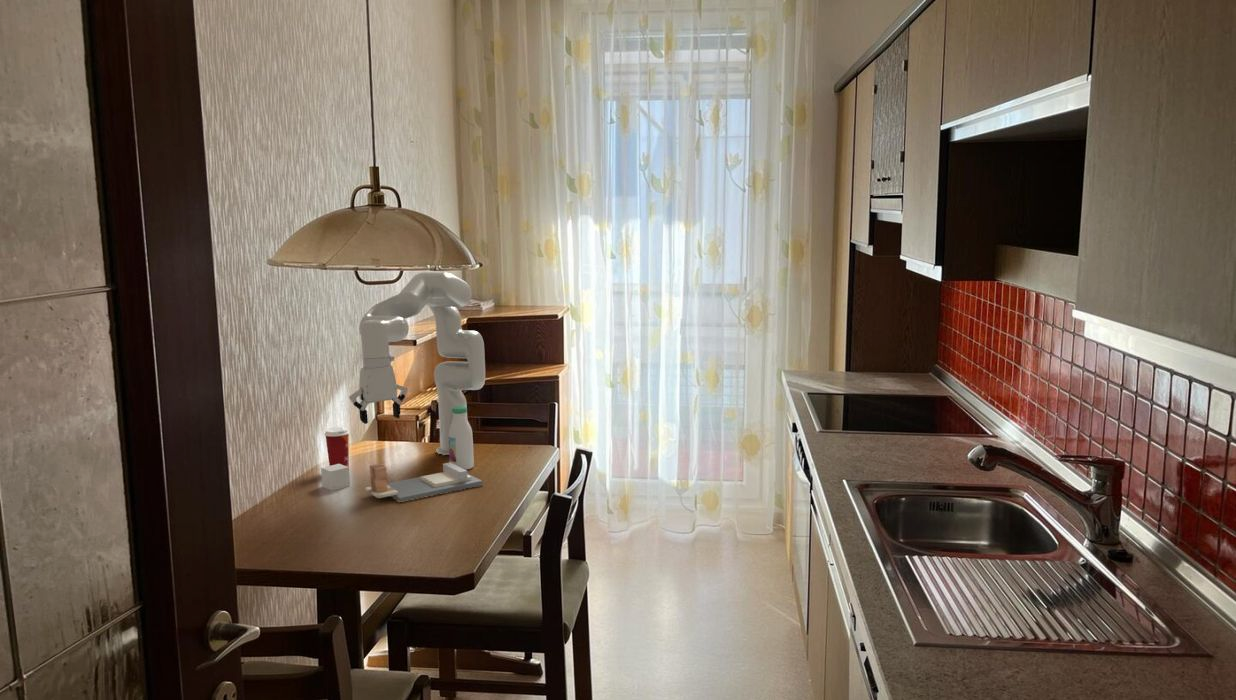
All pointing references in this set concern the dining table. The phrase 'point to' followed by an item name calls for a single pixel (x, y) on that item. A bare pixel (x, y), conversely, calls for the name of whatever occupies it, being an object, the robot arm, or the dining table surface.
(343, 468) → the white cube
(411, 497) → the holder
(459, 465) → the milk bottle
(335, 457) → the paper cup
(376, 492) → the stub
